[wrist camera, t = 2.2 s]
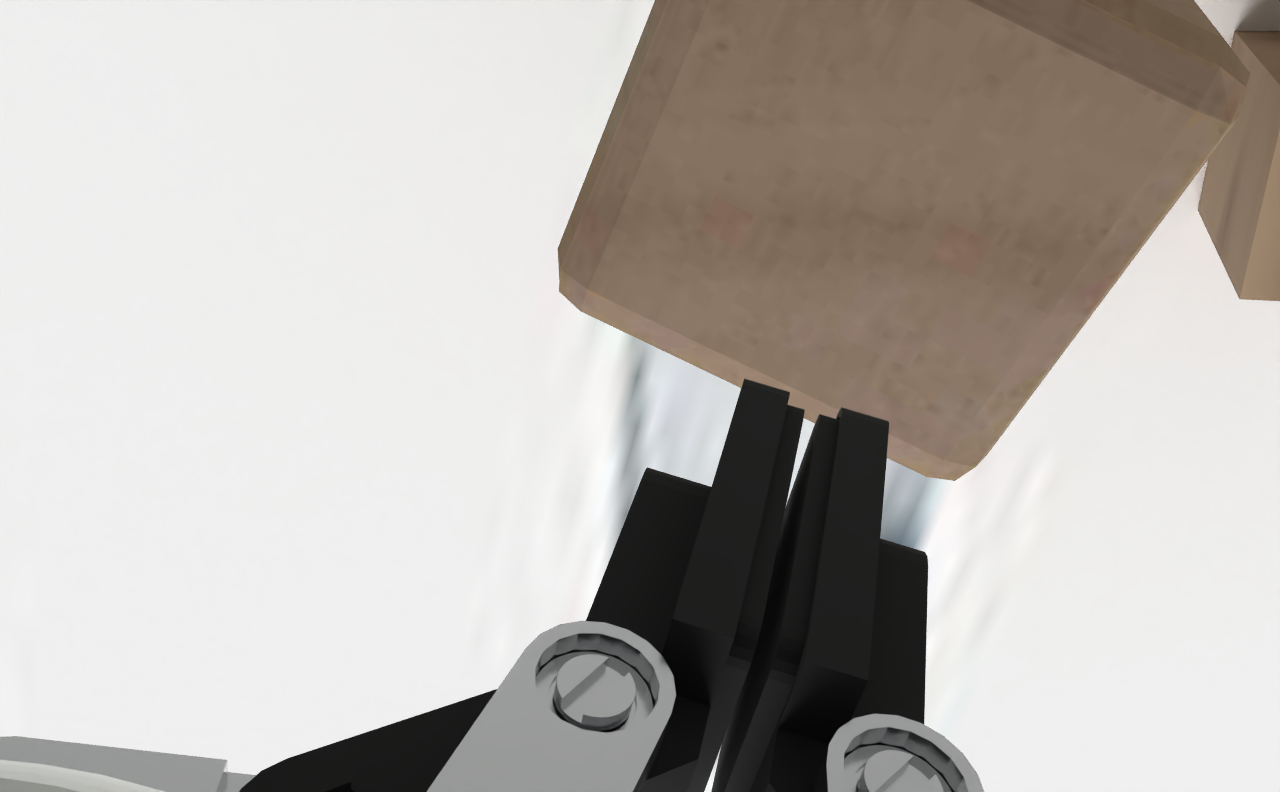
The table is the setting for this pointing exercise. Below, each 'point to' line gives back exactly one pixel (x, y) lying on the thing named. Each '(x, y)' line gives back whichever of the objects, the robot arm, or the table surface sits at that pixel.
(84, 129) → the table surface
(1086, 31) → the block
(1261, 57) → the walnut block
